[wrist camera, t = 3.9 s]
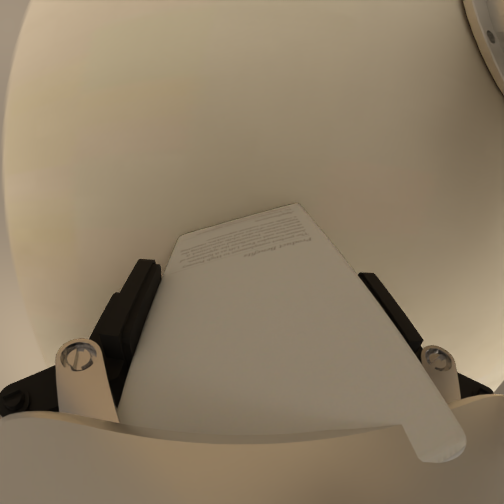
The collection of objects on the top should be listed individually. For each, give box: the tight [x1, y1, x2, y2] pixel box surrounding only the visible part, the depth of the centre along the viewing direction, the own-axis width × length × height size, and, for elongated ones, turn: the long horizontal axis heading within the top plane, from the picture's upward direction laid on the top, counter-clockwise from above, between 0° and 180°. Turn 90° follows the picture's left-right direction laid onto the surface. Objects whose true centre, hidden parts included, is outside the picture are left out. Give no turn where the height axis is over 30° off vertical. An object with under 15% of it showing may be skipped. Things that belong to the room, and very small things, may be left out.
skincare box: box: [117, 203, 467, 463], centre depth 9 cm, size 6×4×12 cm
